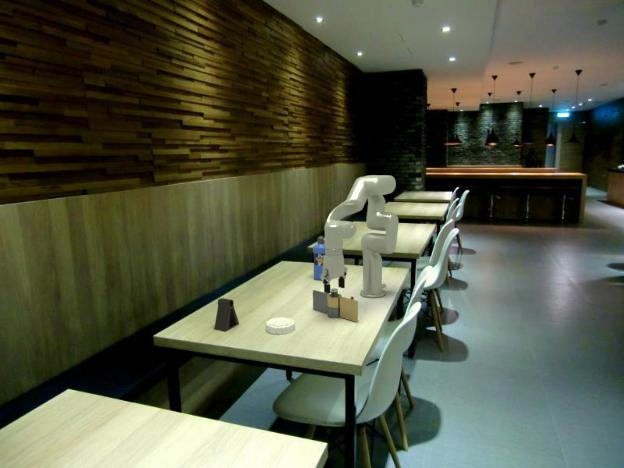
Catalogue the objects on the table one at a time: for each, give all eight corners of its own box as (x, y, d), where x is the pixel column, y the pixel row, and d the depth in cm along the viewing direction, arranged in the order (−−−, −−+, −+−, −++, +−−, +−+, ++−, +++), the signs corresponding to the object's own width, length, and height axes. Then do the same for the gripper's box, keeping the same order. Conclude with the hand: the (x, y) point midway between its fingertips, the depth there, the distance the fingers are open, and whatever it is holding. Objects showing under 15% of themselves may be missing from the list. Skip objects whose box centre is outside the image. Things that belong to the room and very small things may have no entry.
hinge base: (318, 307, 204) (318, 288, 203) (344, 315, 194) (344, 295, 192) (309, 311, 200) (308, 291, 198) (335, 319, 189) (335, 298, 188)
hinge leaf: (333, 311, 198) (333, 292, 197) (361, 319, 188) (361, 299, 186) (324, 315, 194) (324, 295, 192) (352, 323, 183) (352, 303, 182)
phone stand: (225, 331, 178) (224, 303, 176) (214, 329, 181) (212, 301, 179) (239, 324, 186) (238, 297, 184) (228, 322, 188) (226, 295, 186)
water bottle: (329, 280, 250) (329, 237, 245) (313, 281, 250) (312, 237, 246) (329, 276, 259) (328, 234, 255) (313, 276, 259) (312, 235, 255)
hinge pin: (334, 313, 196) (333, 288, 194) (339, 315, 194) (339, 289, 192) (329, 315, 194) (329, 289, 192) (335, 317, 192) (334, 290, 190)
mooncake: (288, 336, 172) (288, 327, 172) (261, 333, 176) (260, 324, 176) (299, 325, 183) (299, 317, 183) (273, 322, 187) (273, 314, 187)
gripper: (339, 247, 198) (340, 284, 201) (313, 254, 185) (314, 293, 188) (353, 249, 193) (353, 287, 196) (327, 256, 180) (328, 296, 183)
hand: (334, 290), depth 192 cm, fingers open, 9 cm apart
